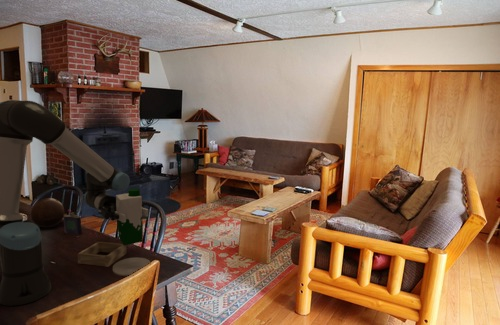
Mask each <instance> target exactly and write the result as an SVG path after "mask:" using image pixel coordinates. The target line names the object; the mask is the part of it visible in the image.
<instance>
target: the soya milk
mask: <svg viewBox="0 0 500 325" xmlns="http://www.w3.org/2000/svg"><path fill="white" fill-rule="evenodd" d="M140 192H141V191H140V188H129V189H128V193H122V194H121V193H120V194H116V195H115V197H116V211H117V212H118V213H122V214H124V215H126V222H122V221H119V220H117V219H116V227H117V234H118V237H119V241H120V242H121V244H123V245H126V246H127V245H129V246H130V245H134V244H138V243H143V242H144V238H143V237H144V226H143V224H144V223H143V215H142V204H143V203H142V202H143V196H142V195H141V193H140Z"/></svg>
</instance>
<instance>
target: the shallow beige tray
mask: <svg viewBox="0 0 500 325" xmlns="http://www.w3.org/2000/svg"><path fill="white" fill-rule="evenodd" d="M100 252H102V253H108V254H107V255H106V254H105V255H104V254H98V253H100ZM127 252H128V251H127V245H123V244H122V243H117V242H107V241H96V242H95V243H93V244H92V245H90V246H89V247H87V248H85V249H83V250H82V251H80V252H78V253H77V264H81V265H82V264H83V265H91V266H98V267H106V268H108V267H110V266H111V265H114V264H115V263H116V262H118V260H119V259H121V258H122V257H123V256H125V255H126V254H128V253H127Z"/></svg>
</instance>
